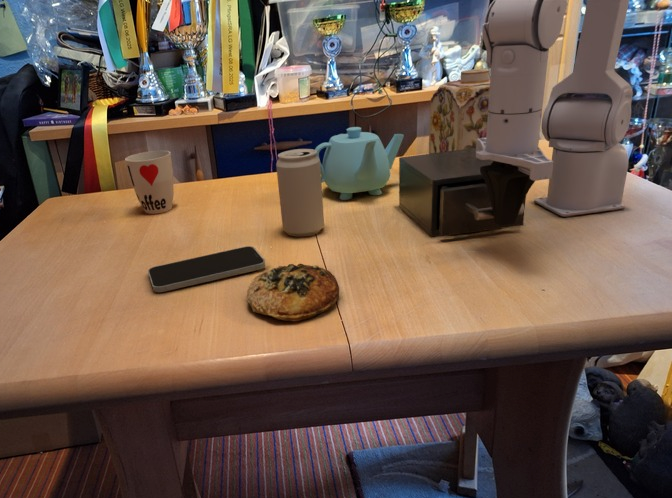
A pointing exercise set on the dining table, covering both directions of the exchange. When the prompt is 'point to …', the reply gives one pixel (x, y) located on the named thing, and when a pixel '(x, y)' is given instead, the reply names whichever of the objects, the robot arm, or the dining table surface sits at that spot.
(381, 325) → the dining table surface
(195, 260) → the smartphone
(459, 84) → the decorative jar
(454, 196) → the dark drawer box
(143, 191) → the cup
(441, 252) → the dining table surface
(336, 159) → the teapot
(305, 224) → the beverage can
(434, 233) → the small drawer cabinet
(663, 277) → the dining table surface
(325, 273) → the bread roll
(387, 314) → the dining table surface
